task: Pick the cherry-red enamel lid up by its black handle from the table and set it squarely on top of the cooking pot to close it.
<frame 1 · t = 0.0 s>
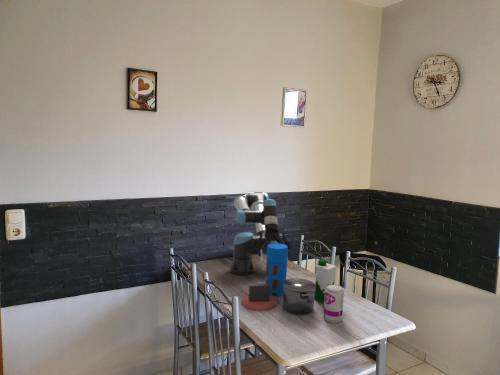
hand: (274, 262, 197), 15 cm above the table, tool tilted 35°, fingers open, 13 cm apart
thermos: (275, 292, 196), on the table
pot: (297, 308, 178), on the table
supplement can: (332, 319, 168), on the table
lid: (258, 303, 182), on the table
milk carton: (323, 299, 189), on the table
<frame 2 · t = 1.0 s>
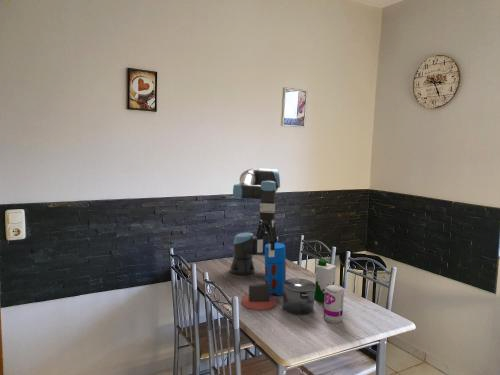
hand: (265, 254, 184), 23 cm above the table, tool pointing down, fingers open, 13 cm apart
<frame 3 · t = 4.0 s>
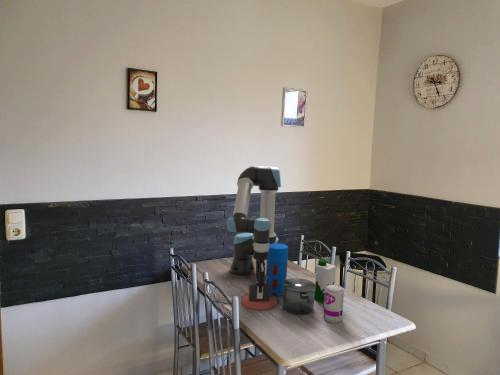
hand: (259, 296, 182), 3 cm above the table, tool pointing down, fingers closed on lid, 3 cm apart
lid: (258, 302, 182), on the table, touching gripper
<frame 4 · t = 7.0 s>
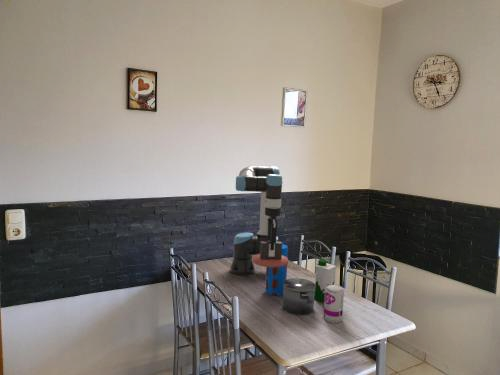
hand: (270, 255, 178), 25 cm above the table, tool pointing down, fingers closed on lid, 3 cm apart
lid: (270, 261, 178), point 22 cm above the table, touching gripper
everything else where it was.
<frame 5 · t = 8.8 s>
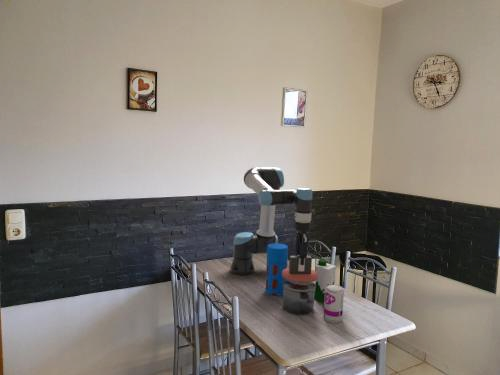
hand: (300, 269, 175), 19 cm above the table, tool pointing down, fingers closed on lid, 3 cm apart
lid: (299, 276, 176), point 16 cm above the table, touching gripper
everything else where it was.
when the fingers open (16 cm above the table, at t = 9.9 s): lid drops 1 cm, resting on pot.
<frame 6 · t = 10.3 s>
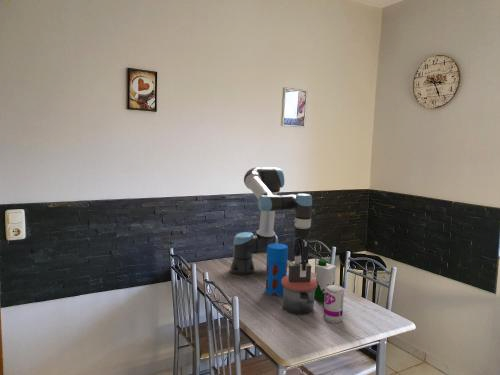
hand: (299, 272, 175), 18 cm above the table, tool pointing down, fingers open, 9 cm apart
lid: (299, 284, 176), point 12 cm above the table, touching pot
everything else where it was.
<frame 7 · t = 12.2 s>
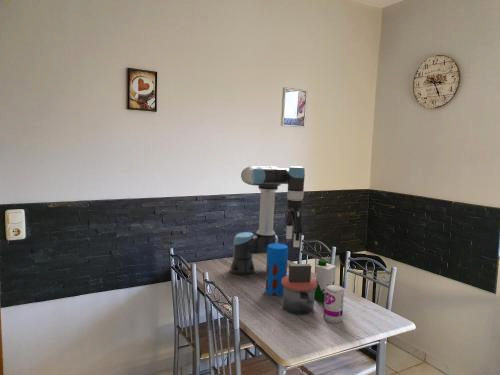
hand: (292, 242, 177), 31 cm above the table, tool pointing down, fingers open, 13 cm apart
nothing on the table moved.
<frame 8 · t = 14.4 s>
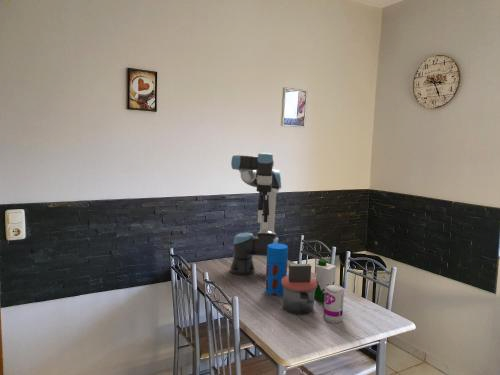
hand: (262, 225, 188), 37 cm above the table, tool pointing down, fingers open, 13 cm apart
nothing on the table moved.
at the end: lid 0.1 cm off-centre on the pot, point 12.0 cm above the pot's base; lid tilted 0°; the gripper is holding nothing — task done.
